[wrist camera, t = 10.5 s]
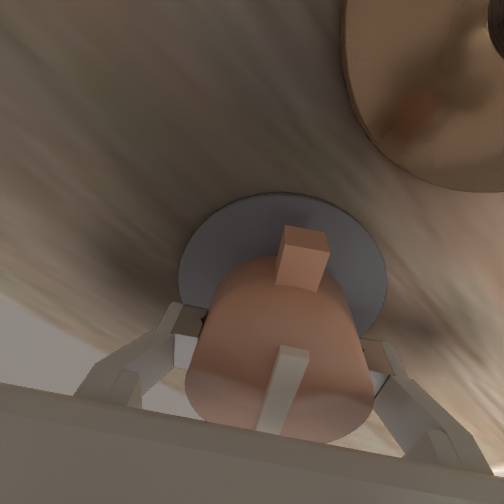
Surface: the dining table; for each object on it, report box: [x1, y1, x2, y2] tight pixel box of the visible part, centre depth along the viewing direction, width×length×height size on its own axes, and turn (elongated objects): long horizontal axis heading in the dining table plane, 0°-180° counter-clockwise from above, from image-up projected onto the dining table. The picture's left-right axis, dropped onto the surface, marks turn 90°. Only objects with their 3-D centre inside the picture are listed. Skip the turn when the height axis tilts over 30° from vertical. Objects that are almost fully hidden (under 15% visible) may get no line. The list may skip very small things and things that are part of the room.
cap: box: [185, 225, 375, 444], centre depth 11 cm, size 9×6×4 cm, turn 171°
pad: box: [178, 193, 387, 337], centre depth 14 cm, size 10×10×1 cm
